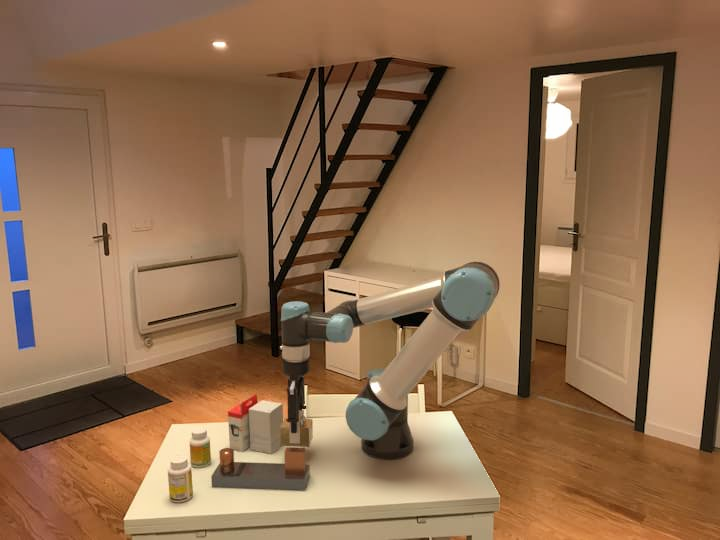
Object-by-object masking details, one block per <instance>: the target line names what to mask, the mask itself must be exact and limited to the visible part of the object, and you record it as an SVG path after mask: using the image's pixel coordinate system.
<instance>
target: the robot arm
mask: <svg viewBox="0 0 720 540" xmlns="http://www.w3.org/2000/svg"><path fill="white" fill-rule="evenodd" d="M499 277H500V276H499V275H498V273H497V271H496V270H495V269H494V268H493V267H492V266H491V265H489V264H488V263H485V262H483V261H469V262H467V263H465V264H463V265H461V266H458V267H455V268H452V269H449V270H446V271H444V272H443V273H442V275H441V276H438V277H435V278H431V279H427V280H424V281H420V282H416V283H412V284H409V285H406V286H402V287H399V288H394V289H392V290H391V289H390V290H387V291H383V292H380V293H376V294H372V295H369V296H365V297H362V298H359V299H354V300H352V299H350V300H346V301H343V302H341V303H340V304H338V305H337V306H335V307H334V308H332V309H330V310H329V311H327V312H321V311H320V312H318V311H311V310H310V306H309V303H307V302H304V301H300V300H299V301H296V300H295V301H289V302H286V303H283V305H282V306H281V313H280V314H281V315H280V317H281V318H280V322H281V323H280V327H281V345H280V346H279V349H280V350H282V352H281V357H282V360H281V362H282V363H281V371H282V372H283V374H284V375H286V376H289V379H287V388H286V392H287V393H286V394H287V418H288V419H286V421H287V422H289V429H290V443H300V420H299V419H300V417H301V416H305V410H307V405H305V404H306V395H305V393H306V392H305V390H306V389H305V375H306V374H308V373H309V372H310V370H311V369H310V368H311V367H310V358H309V357H310V354H311V353H310V350H311V348H310V347H311V346H310V340H313V341H314V340H315V341H319V342H328V343H334V344H337V343H343V344H344V343H345V344H346V343H347V342H349V341H350V340H351V337H352V336H353V332H354V329H355V328H358V327H362V326H365V325H368V324H373V323H378V322H381V321H386V320H390V319H394V318H397V317H400V316H401V317H402V316H405V315H409V314H413V313H418V312H421V311H424V310H430V309H432V310H431V311H430V313H429V314H428V315H427V317H426V318H425V319H424V320H423V321H422V323H421V324H420V325H419V327H418V328H417V329H416V330H415V332H414V333H413V334H412V335H411V336H410V337H409V339H408V340H407V342H406V343H404V345H403V347H402V348H401V349H400V350H399V352H397V354H396V356H394V358H393V359H392V360H391V362H390V363H389V364H388V366H386V368H376V369H375V368H374V369H371V370H369V371H368V372H367V375H366V376H367V377H366V382H367V383H366V384H365V385H364V386H363V387H362V388H361V390H360V392H359V393H358V394H357V395H356V396H355V397H354V399H352V400H351V401H350V402H349V403H348V406H347V407H346V410H345V420H346V424H347V427H348V428H349V430H350V431H351V432H352V433H353V434H354V435H355V436H356V437H358V438H359V439H361V447H360V448H361V450H362V452H363V453H364V454H366V455H367V456H369V457H372V458H375V459H378V460H379V459H380V460H395V459H396V460H397V459H401V458H405V457H407V456H409V455H410V454H411V453H413V451H414V438H413V435H412V434H413V433H412V432H411V429H410V426H409V423H408V416H409V415H408V414H409V411H408V409H409V394H410V393H411V392H412V391H413V390H414V389H415V388H416V386H417V385H418V383H419V382H420V381H421V380H422V379H423V377H424V376H425V375H426V374H427V372H428V371H429V370H430V369H431V368H432V366H433V365H434V364H435V363H436V362H437V360H439V358H440V357H441V356H442V354H444V352H445V351H446V350H447V349H448V347H449V346H450V345H451V343H453V342H454V340H455V339H456V337H458V335H459V334H460V333H462V332H469V331H470V330H471V329H473V327H474V326H475V324H477V323H478V321H479V320H480V319H481V317H483V316H485V315H486V313H488V312H489V310H490V309H491V307H492V305H493V304H494V301H495V299H496V298H497V296H498V294H499V291H500V284H501V283H500V278H499Z"/></svg>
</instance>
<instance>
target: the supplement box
mask: <svg viewBox="0 0 720 540" xmlns="http://www.w3.org/2000/svg"><path fill="white" fill-rule="evenodd" d="M283 421H284V405H283V403H282V402H281V403H280V402H275V401H270V400H269V401H268V400H263V399H262V400H260V401H258V403H257V404H256V405H254V406H252V407H251V408H249V428H250V447H249V448H250V450H252V451H256V452H262V453H265V454H269V455H270V454H271V455H272V454H273V453H275V451H277V450H278V449H280V448H281V447H282V446H281V438H280V427H281V425H282V423H283Z"/></svg>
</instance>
